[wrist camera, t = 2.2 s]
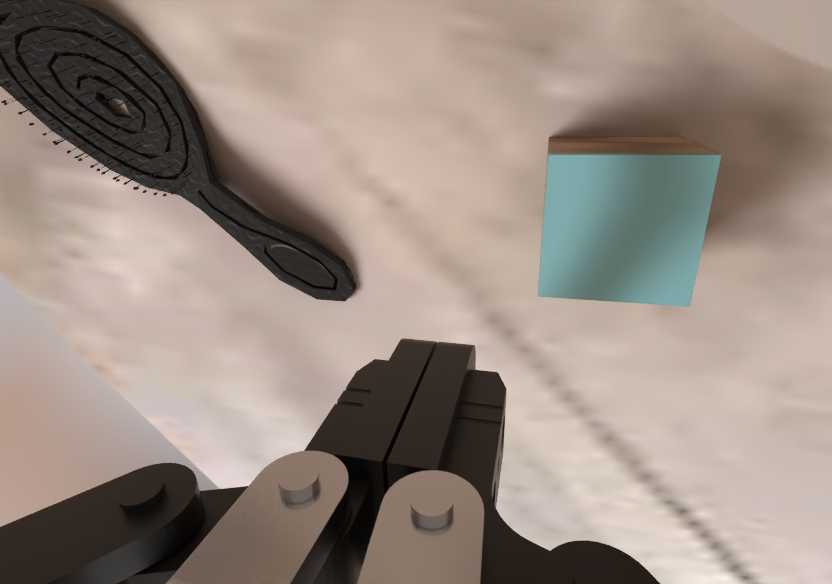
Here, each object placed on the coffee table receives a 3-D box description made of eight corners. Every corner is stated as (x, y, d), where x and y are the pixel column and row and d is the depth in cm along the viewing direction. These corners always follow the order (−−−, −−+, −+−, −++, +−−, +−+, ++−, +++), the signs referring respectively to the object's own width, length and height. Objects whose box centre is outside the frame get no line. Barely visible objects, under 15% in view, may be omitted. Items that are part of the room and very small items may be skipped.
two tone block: (540, 252, 27) (537, 296, 21) (548, 137, 24) (548, 155, 19) (660, 257, 25) (689, 306, 20) (681, 136, 23) (721, 154, 17)
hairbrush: (304, 354, 30) (-56, 86, 27) (326, 325, 33) (7, 83, 30) (379, 261, 26) (-29, -61, 23) (395, 239, 30) (39, -46, 27)
